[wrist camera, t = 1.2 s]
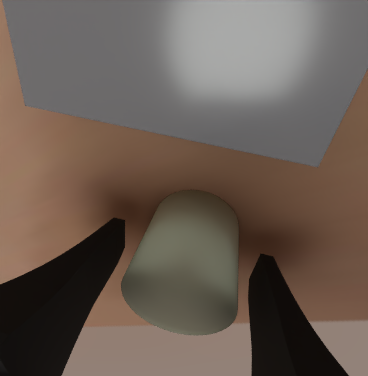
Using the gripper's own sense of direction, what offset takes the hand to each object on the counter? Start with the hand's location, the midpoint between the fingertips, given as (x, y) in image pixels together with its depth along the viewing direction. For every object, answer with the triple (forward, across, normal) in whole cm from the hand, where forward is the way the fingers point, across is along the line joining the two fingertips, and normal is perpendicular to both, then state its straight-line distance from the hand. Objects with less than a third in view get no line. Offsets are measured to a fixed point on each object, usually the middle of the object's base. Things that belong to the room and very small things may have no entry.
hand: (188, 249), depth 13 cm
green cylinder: (+2, 0, 0) cm, 2 cm away
